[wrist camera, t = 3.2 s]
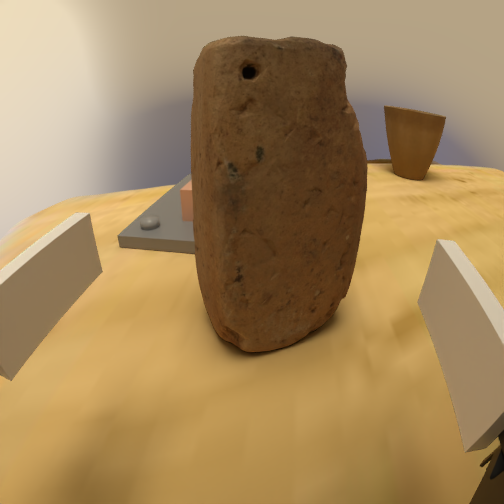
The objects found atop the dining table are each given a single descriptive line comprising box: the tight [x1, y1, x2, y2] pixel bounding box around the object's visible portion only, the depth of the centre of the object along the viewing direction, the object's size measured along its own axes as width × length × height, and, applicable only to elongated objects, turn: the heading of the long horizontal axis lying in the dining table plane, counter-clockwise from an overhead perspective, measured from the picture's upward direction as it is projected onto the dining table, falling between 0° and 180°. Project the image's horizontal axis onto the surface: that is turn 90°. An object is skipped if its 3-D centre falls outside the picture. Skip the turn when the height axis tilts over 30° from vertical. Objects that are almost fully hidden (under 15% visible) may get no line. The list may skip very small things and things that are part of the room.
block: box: [191, 36, 367, 352], centre depth 20 cm, size 11×8×20 cm
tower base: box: [118, 174, 195, 254], centre depth 44 cm, size 26×26×6 cm
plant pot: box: [384, 106, 446, 180], centre depth 64 cm, size 15×15×16 cm
